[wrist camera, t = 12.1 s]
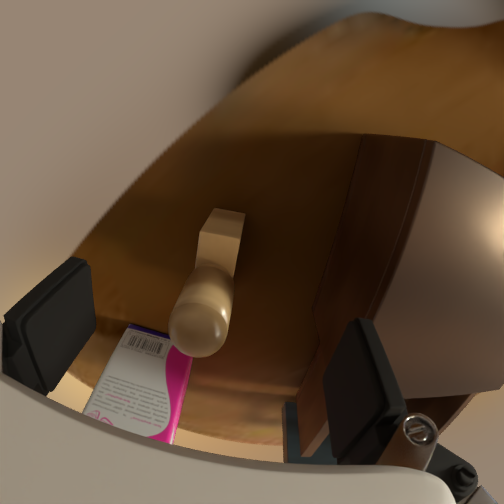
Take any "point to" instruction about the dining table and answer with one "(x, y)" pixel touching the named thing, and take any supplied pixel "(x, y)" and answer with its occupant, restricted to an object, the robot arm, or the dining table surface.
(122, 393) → the supplement box
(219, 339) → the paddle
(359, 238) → the cabinet
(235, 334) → the dining table surface
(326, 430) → the drawer
